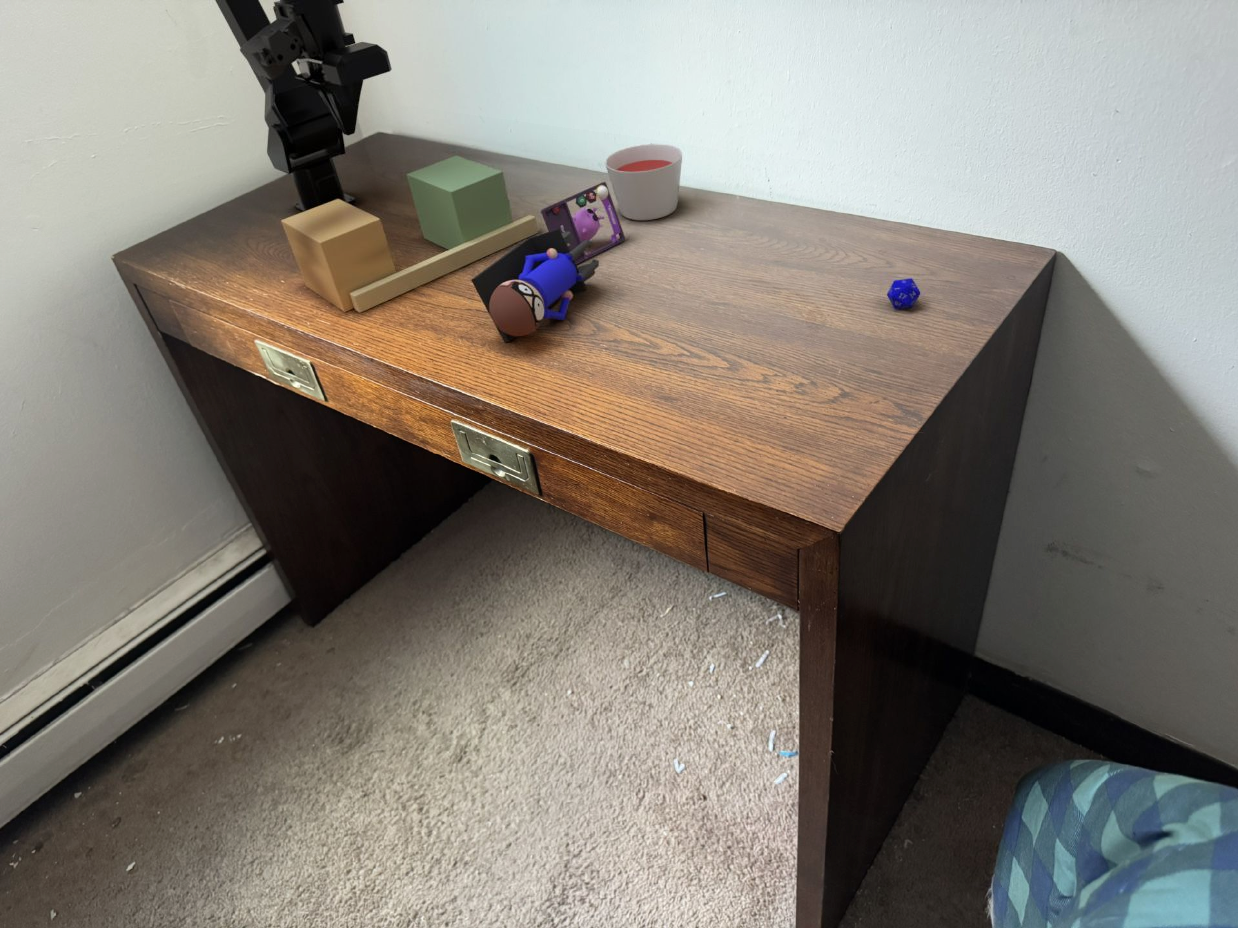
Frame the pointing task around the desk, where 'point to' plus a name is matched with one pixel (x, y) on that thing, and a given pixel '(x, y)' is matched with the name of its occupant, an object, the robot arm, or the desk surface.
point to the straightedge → (442, 264)
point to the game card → (583, 219)
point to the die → (903, 293)
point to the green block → (459, 201)
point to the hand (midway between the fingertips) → (349, 134)
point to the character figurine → (533, 282)
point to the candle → (646, 180)
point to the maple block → (339, 250)
